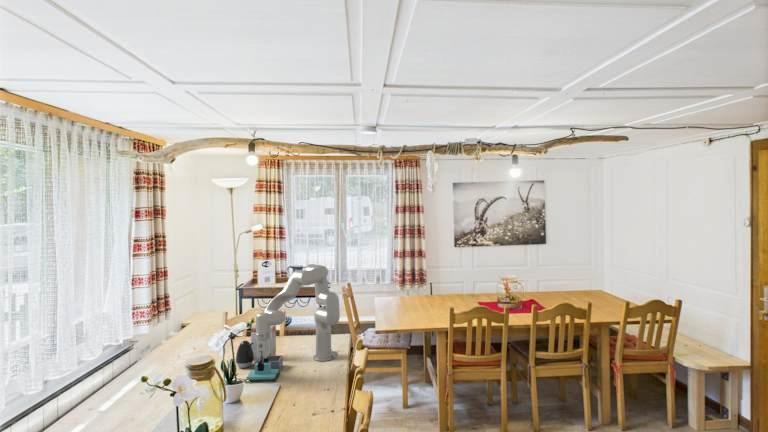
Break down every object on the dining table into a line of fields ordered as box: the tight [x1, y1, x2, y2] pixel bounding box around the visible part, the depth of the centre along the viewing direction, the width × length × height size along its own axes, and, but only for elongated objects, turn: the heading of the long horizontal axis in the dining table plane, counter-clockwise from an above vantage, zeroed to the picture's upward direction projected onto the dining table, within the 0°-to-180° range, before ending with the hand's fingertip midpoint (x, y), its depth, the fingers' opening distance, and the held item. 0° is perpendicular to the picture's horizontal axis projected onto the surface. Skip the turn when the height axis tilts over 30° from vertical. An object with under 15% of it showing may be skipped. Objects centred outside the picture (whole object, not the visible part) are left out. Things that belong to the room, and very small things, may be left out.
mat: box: [245, 371, 281, 384], centre depth 207 cm, size 12×16×1 cm
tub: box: [253, 354, 284, 373], centre depth 220 cm, size 10×14×6 cm
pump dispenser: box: [235, 339, 254, 369], centre depth 224 cm, size 10×10×15 cm
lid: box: [245, 363, 280, 381], centre depth 207 cm, size 11×15×7 cm
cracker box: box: [250, 324, 277, 362], centre depth 235 cm, size 14×6×21 cm, turn 84°
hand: (263, 367), depth 207 cm, fingers open, 9 cm apart
